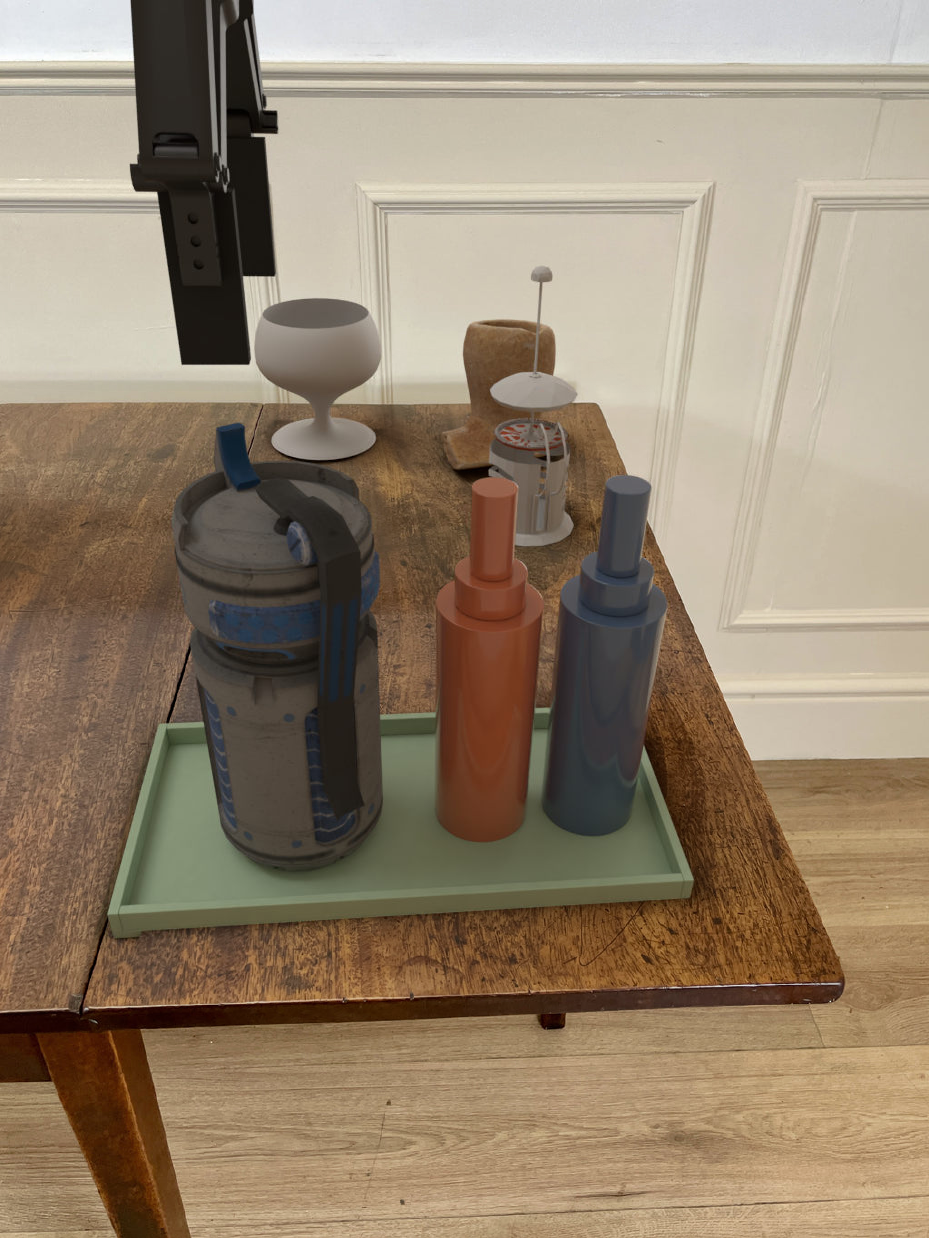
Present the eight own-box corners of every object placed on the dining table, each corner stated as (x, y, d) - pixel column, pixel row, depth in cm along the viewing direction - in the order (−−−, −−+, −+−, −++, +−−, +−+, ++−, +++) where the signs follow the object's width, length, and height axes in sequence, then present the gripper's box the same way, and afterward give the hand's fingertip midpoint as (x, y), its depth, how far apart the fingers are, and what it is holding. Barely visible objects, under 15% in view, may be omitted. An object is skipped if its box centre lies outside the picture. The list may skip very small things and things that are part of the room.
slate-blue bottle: (548, 839, 59) (583, 512, 46) (534, 772, 64) (561, 461, 51) (642, 834, 60) (702, 509, 47) (620, 768, 65) (669, 459, 52)
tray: (113, 938, 53) (106, 914, 52) (163, 746, 66) (158, 723, 65) (688, 903, 56) (694, 880, 55) (625, 726, 69) (628, 703, 68)
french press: (551, 495, 100) (572, 250, 86) (597, 547, 91) (628, 282, 77) (464, 506, 98) (470, 255, 84) (501, 561, 89) (516, 289, 75)
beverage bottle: (284, 938, 52) (233, 548, 38) (192, 797, 61) (124, 438, 47) (435, 859, 57) (439, 489, 43) (330, 740, 66) (305, 399, 52)
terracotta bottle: (437, 845, 58) (441, 515, 46) (431, 777, 63) (433, 463, 51) (533, 839, 59) (563, 512, 46) (519, 773, 64) (543, 461, 51)
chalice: (271, 472, 103) (257, 336, 95) (257, 424, 115) (244, 298, 106) (395, 460, 107) (393, 328, 99) (370, 414, 118) (366, 292, 110)
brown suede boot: (529, 425, 116) (537, 301, 108) (579, 462, 108) (592, 331, 99) (416, 443, 111) (415, 315, 103) (459, 484, 102) (462, 347, 94)
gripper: (242, -437, 22) (302, 414, 34) (300, -240, 43) (324, 249, 55) (-91, -462, 22) (89, 415, 34) (130, -250, 42) (192, 248, 54)
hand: (235, 313), depth 44 cm, fingers open, 13 cm apart
